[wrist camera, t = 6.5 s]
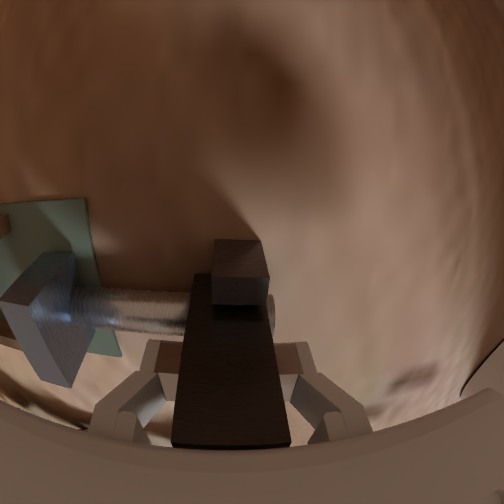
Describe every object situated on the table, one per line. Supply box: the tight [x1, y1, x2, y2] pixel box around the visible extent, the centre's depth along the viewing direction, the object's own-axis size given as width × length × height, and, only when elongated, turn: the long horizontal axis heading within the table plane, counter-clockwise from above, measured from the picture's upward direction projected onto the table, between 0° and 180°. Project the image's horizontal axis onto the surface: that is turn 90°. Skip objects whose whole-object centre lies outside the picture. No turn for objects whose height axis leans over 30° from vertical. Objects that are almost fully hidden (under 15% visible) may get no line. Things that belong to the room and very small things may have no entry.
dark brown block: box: [212, 239, 270, 305], centre depth 12 cm, size 2×6×3 cm, turn 176°
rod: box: [0, 252, 291, 450], centre depth 9 cm, size 12×5×8 cm, turn 86°
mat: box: [0, 198, 122, 357], centre depth 12 cm, size 14×10×1 cm
